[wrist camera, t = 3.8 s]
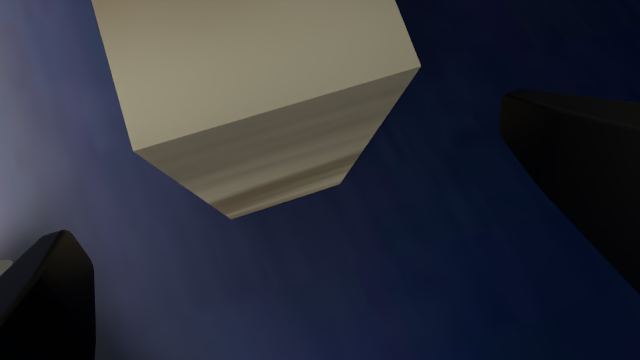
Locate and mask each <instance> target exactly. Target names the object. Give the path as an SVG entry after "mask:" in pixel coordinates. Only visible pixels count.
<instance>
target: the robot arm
mask: <svg viewBox="0 0 640 360" xmlns="http://www.w3.org/2000/svg"><path fill="white" fill-rule="evenodd" d="M499 131H500V135H501V137H502V139H503V141H504V142H505V143H506V145H507V146H508V147H509V149H510V150H511V151H512V153H513V154H514V155H515V157H516V158H517V159H518V161H519V162H520V163H521V165H522V166H523V167H524V169H525V170H526V171H527V172H528V174H529V175H530V176H531V178H532V179H533V180H534V182H535V183H536V184H537V185H538V187H539V188H540V189H541V190H542V191H543V192H544V194H545V195H546V196H547V197H548V198H549V199H550V200H551V201H552V202H553V203H554V204H555V205H556V206H557V208H558V209H559V210H560V211H561V212H562V213H563V214H564V215H565V216H566V217H567V218H568V219H569V220H570V221H571V222H572V223H573V224H574V226H575V227H576V228H577V229H578V230H579V231H580V232H581V233H582V234H583V235H584V236H585V237H586V238H587V239H588V240H589V241H590V242H591V243H592V245H593V246H594V247H595V248H596V249H597V250H598V251H599V252H600V253H601V254H602V255H603V256H604V257H605V258H606V259H607V260H608V261H609V262H610V264H611V265H612V266H613V267H614V268H615V269H616V270H617V271H618V272H619V273H620V274H621V275H622V276H623V277H624V278H625V279H626V280H627V281H628V283H629V284H630V285H631V286H632V287H633V288H634V289H635V290H636V291H637V292H638V293H639V294H640V104H639V103H631V102H624V101H616V100H608V99H600V98H593V97H585V96H577V95H570V94H562V93H554V92H547V91H539V90H531V89H519V90H516V91H513V92H510V93H507V94H505V95H504V96H503V98H502V102H501V112H500V124H499ZM95 345H96V320H95V290H94V268H93V264H92V262H91V260H90V258H89V257H88V255H87V254H86V252H85V251H84V250H83V248H82V247H81V245H80V244H79V243H78V241H77V240H76V239H75V237H74V236H73V235H72V233H70V232H69V231H67V230H61V231H57V232H54V233H51V234H48V235H45V236H43V237H41V238H40V239H39V240H38V241H37V242H36V243H35V244H34V245H32V246H31V247H30V248H29V249H28V250H27V251H26V252H25V253H24V254H23V255H22V256H21V257H20V258H19V259H18V260H16V261H15V262H14V263H13V264H12V265H11V266H10V267H9V268H8V269H7V270H6V271H5V272H4V273H3V274H2V275H1V276H0V360H94V358H95Z"/></svg>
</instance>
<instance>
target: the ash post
mask: <svg viewBox="0 0 640 360" xmlns="http://www.w3.org/2000/svg"><path fill="white" fill-rule="evenodd" d="M92 4H93V7H94V11H95V15H96V18H97V22H98V26H99V29H100V33H101V37H102V40H103V44H104V47H105V51H106V55H107V58H108V62H109V66H110V69H111V73H112V76H113V80H114V84H115V87H116V91H117V95H118V98H119V102H120V105H121V109H122V113H123V116H124V120H125V124H126V127H127V131H128V134H129V138H130V142H131V145H132V149H133V151H134V152H135V153H137V154H138V155H139V156H141V157H142V158H144V159H145V160H147V161H148V162H149V163H151V164H152V165H154V166H155V167H157V168H158V169H160V170H161V171H162V172H164V173H165V174H167V175H168V176H170V177H171V178H172V179H174V180H175V181H177V182H178V183H180V184H181V185H183V186H184V187H185V188H187V189H188V190H190V191H191V192H193V193H194V194H196V195H197V196H198V197H200V198H201V199H203V200H204V201H206V202H207V203H208V204H210V205H211V206H213V207H214V208H216V209H217V210H219V211H220V212H221V213H223V214H224V215H226V216H227V217H229V218H230V219H234V218H237V217H240V216H243V215H246V214H249V213H252V212H255V211H259V210H262V209H265V208H268V207H271V206H274V205H277V204H280V203H283V202H286V201H289V200H293V199H296V198H299V197H302V196H305V195H308V194H311V193H314V192H317V191H320V190H323V189H326V188H330V187H333V186H336V185H339V184H340V183H341V182H342V180H343V179H344V177H345V176H346V174H347V173H348V172H349V170H350V169H351V167H352V166H353V164H354V163H355V161H356V160H357V158H358V157H359V156H360V154H361V153H362V151H363V150H364V148H365V147H366V145H367V144H368V143H369V141H370V140H371V138H372V137H373V135H374V134H375V132H376V131H377V129H378V128H379V127H380V125H381V124H382V122H383V121H384V119H385V118H386V116H387V115H388V114H389V112H390V111H391V109H392V108H393V106H394V105H395V103H396V102H397V100H398V99H399V98H400V96H401V95H402V93H403V92H404V90H405V89H406V87H407V86H408V85H409V83H410V82H411V80H412V79H413V77H414V76H415V74H416V73H417V71H418V70H419V69H420V67H421V65H420V62H419V60H418V57H417V55H416V52H415V50H414V47H413V45H412V42H411V39H410V37H409V34H408V32H407V29H406V27H405V24H404V22H403V19H402V17H401V14H400V12H399V9H398V7H397V4H396V2H395V0H92Z"/></svg>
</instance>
